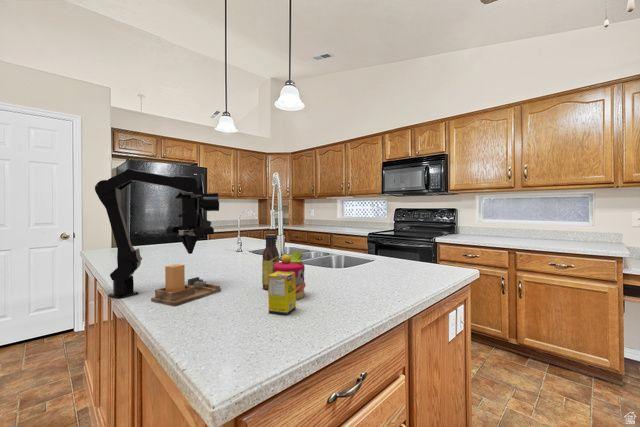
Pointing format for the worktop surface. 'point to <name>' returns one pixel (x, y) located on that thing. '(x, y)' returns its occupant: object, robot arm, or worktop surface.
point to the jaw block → (175, 277)
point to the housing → (184, 293)
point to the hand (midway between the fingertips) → (190, 253)
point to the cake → (296, 266)
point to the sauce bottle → (269, 258)
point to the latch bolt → (200, 283)
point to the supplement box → (281, 292)
